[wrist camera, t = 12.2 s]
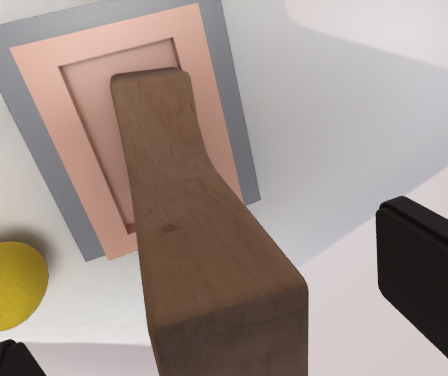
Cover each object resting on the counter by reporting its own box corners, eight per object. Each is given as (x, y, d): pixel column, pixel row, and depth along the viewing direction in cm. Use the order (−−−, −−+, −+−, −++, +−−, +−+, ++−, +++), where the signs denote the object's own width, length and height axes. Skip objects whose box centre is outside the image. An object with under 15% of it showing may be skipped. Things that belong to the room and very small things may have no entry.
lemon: (-16, 218, 27) (-62, 280, 20) (61, 230, 29) (45, 291, 22) (-26, 277, 28) (-72, 355, 21) (48, 285, 30) (29, 358, 23)
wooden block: (109, 74, 22) (101, 153, 6) (177, 65, 23) (317, 115, 7) (136, 198, 26) (175, 444, 10) (194, 186, 27) (313, 392, 11)
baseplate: (210, -22, 25) (231, -35, 21) (254, 193, 33) (276, 216, 29) (-22, 32, 22) (-56, 29, 18) (87, 252, 30) (82, 288, 26)
